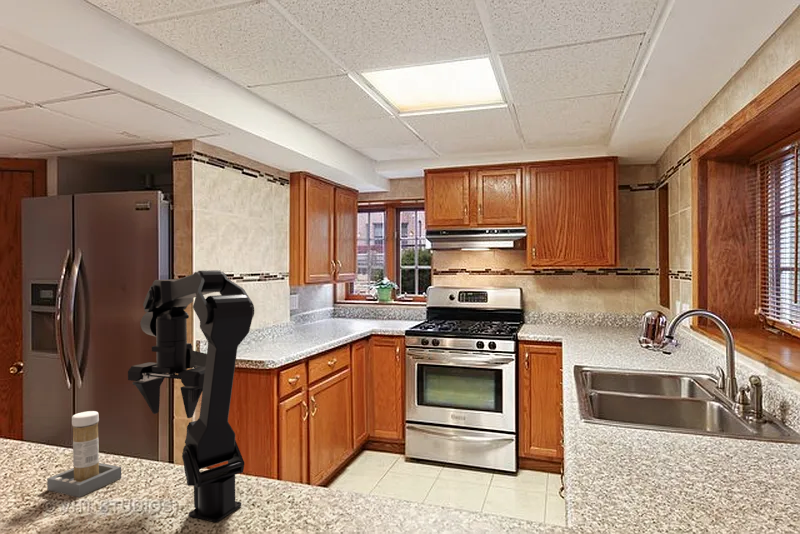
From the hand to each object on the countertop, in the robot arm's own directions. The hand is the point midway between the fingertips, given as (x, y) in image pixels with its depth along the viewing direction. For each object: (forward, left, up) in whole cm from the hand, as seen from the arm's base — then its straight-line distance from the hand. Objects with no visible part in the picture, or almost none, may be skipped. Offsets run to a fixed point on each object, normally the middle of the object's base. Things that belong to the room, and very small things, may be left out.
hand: (172, 415), depth 101 cm
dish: (+15, +8, -13) cm, 21 cm away
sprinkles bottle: (+15, +8, -12) cm, 21 cm away
